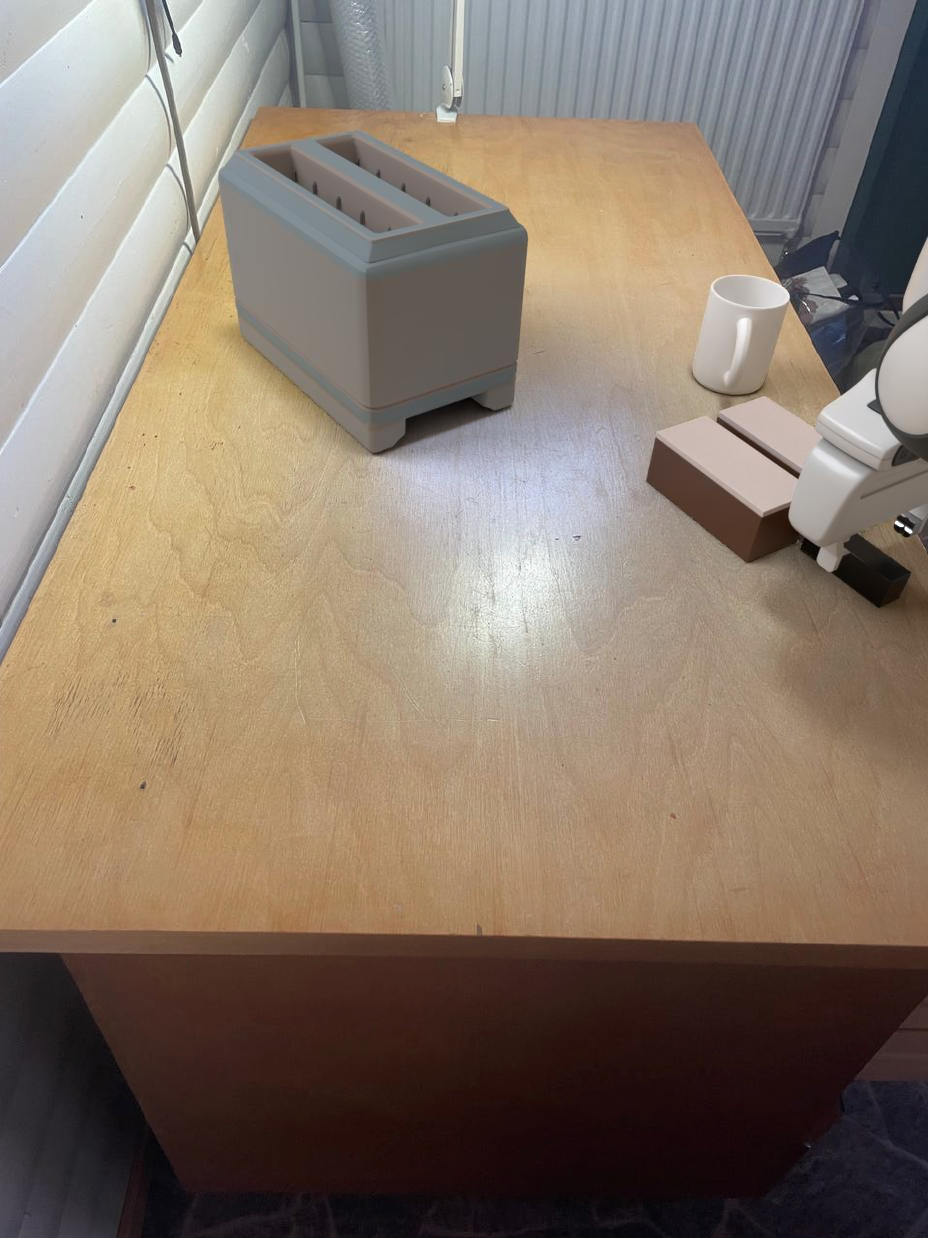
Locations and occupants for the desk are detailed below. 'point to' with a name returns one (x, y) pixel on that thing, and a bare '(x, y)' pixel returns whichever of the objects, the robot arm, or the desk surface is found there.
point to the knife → (867, 570)
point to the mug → (739, 333)
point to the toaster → (373, 279)
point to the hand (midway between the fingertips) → (868, 548)
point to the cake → (736, 473)
